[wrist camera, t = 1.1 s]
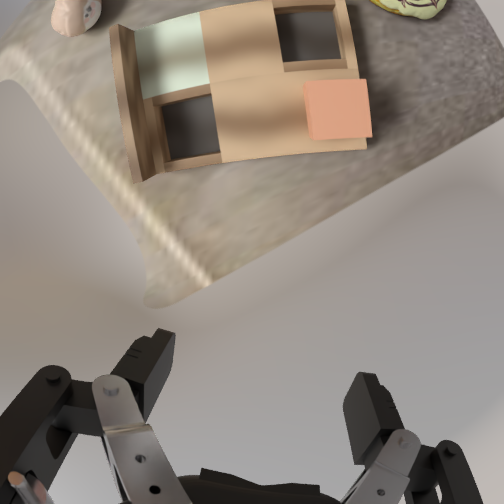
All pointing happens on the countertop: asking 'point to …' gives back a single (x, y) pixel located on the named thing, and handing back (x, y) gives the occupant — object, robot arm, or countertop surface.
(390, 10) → the decorated donut
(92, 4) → the garlic bulb
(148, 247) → the countertop surface
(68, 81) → the countertop surface
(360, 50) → the countertop surface
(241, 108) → the board
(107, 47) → the countertop surface
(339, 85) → the block
